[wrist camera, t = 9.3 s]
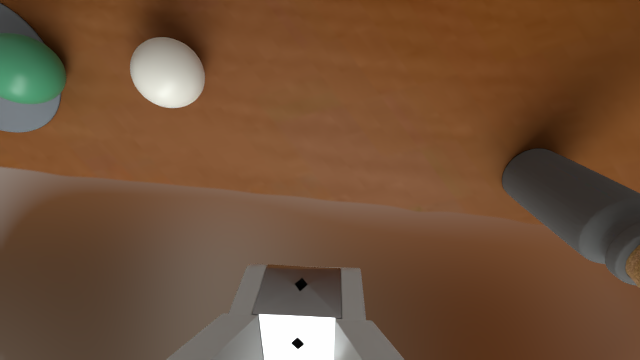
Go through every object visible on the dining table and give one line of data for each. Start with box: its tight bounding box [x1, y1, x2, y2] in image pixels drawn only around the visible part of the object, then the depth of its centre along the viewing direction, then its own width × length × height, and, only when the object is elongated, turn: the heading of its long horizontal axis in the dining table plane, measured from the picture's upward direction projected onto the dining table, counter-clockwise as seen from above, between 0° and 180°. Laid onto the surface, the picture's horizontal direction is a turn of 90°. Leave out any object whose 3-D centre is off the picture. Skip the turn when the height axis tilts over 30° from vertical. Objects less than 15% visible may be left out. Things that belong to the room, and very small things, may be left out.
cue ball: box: [130, 37, 205, 108], centre depth 25 cm, size 6×6×6 cm
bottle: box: [502, 148, 640, 288], centre depth 24 cm, size 6×6×15 cm
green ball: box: [0, 33, 66, 104], centre depth 25 cm, size 6×6×6 cm
